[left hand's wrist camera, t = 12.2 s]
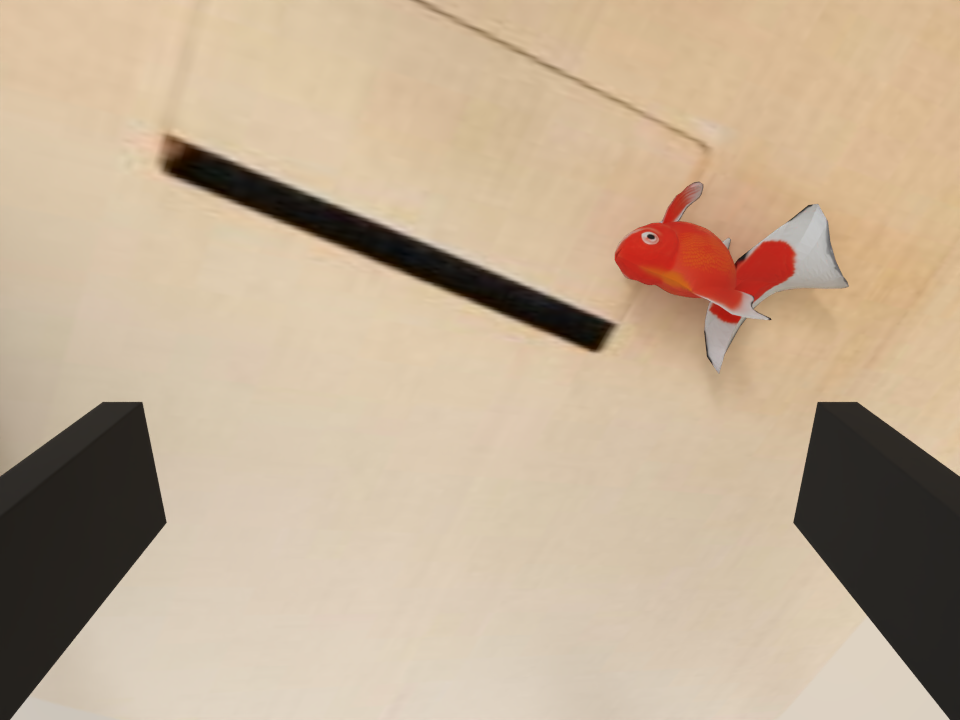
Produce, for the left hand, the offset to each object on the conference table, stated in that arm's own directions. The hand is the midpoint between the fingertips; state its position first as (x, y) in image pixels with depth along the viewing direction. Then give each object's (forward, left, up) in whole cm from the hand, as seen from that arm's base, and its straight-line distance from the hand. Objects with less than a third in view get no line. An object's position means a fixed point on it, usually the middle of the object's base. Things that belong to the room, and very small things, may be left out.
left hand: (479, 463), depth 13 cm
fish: (+13, -10, -32) cm, 35 cm away
